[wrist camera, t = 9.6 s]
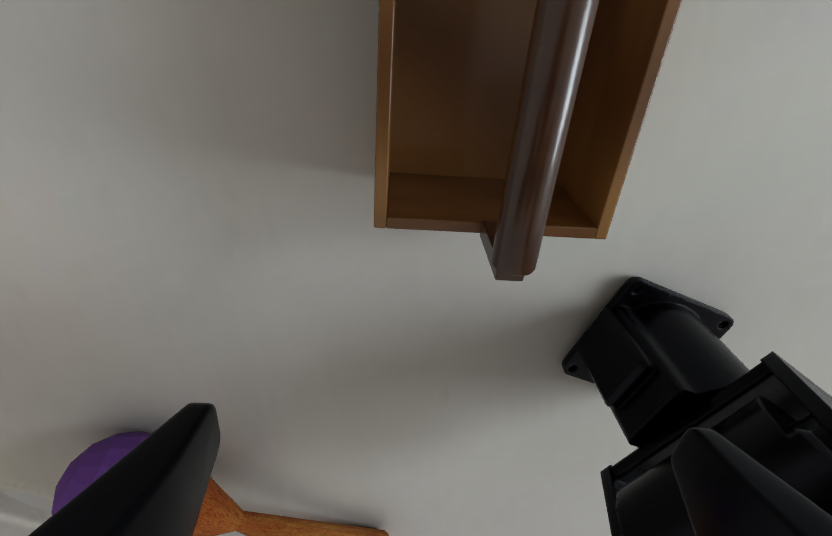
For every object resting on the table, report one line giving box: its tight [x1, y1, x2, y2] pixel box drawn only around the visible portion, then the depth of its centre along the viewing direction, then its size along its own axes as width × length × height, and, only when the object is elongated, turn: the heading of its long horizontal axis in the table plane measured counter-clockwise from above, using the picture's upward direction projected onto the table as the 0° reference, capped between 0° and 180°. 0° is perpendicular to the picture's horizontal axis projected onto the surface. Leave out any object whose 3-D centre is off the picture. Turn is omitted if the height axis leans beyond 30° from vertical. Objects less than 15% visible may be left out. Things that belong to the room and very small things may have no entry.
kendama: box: [52, 432, 389, 536], centre depth 27 cm, size 6×6×20 cm
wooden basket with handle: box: [374, 0, 682, 281], centre depth 13 cm, size 10×8×8 cm
